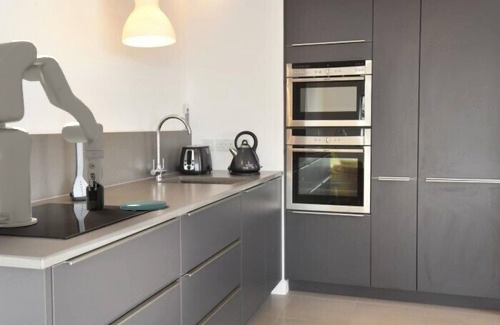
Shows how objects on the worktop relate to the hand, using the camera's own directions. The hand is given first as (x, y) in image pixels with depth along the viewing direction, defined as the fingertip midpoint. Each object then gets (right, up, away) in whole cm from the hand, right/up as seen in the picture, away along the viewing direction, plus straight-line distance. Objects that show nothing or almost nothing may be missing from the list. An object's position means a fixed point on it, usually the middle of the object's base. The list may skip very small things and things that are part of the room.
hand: (95, 199), depth 196 cm
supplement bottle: (0, -4, 0) cm, 4 cm away
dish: (+18, -3, +3) cm, 19 cm away
